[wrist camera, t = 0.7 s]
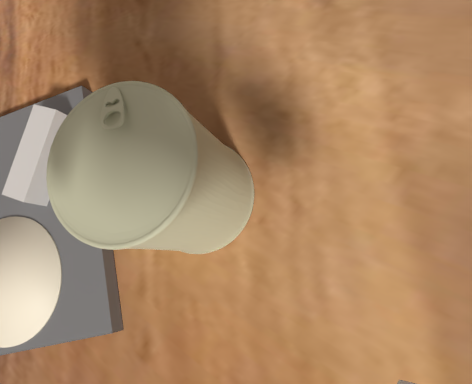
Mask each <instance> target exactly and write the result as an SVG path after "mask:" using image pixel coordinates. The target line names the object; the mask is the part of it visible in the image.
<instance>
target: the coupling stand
mask: <svg viewBox="0 0 472 384" xmlns="http://www.w3.org/2000/svg"><path fill="white" fill-rule="evenodd" d="M91 93H92V92H91V91H89V90H88V89H86V88H85V87H83V86H79V87H77V88H74V89H71V90H69V91H66V92H64V93H61V94H59V95H56V96H53V97H51V98H48V99H46V100H43V101H41V102H38V103H35V104H33V105H30V106H28V107H25V108H23V109H20V110H17V111H15V112H12V113H10V114H7V115H5V116H2V117H0V355H5V354H10V353H15V352H20V351H25V350H30V349H35V348H40V347H45V346H50V345H55V344H60V343H65V342H70V341H75V340H80V339H85V338H90V337H95V336H100V335H105V334H110V333H114V332H118V331H121V330H123V323H122V315H121V307H120V300H119V292H118V284H117V277H116V269H115V261H114V254H113V250H108V249H101V248H96V247H93V246H90V245H88V244H85V243H83V242H82V241H80V240H78V239H77V238H75V237H74V236H73V235H71V234H70V233H69V232H68V231H67V230H66V229H65V228H64V226H63V225H62V224H61V223H60V221H59V220H58V218H57V216H56V214H55V212H54V210H53V208H52V205H51V202H50V199H49V195H48V190H47V180H46V175H47V162H48V157H49V153H50V148H51V145H52V143H53V140H54V138H55V135H56V133H57V131H58V129H59V127H60V126H61V124H62V123H63V121H64V119H65V118H66V117H67V115H68V114H69V113H70V112H71V110H72V109H73V108H74V107H75V106H76V105H77V104H78V103H79V102H81V101H82V100H83V99H84V98H85V97H87V96H88V95H90V94H91Z"/></svg>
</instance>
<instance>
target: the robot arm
mask: <svg viewBox="0 0 472 384" xmlns="http://www.w3.org/2000/svg"><path fill="white" fill-rule="evenodd" d="M397 384H415V383H411V382H407V381H403V380H399V381H398V383H397Z"/></svg>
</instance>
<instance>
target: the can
mask: <svg viewBox="0 0 472 384" xmlns="http://www.w3.org/2000/svg"><path fill="white" fill-rule="evenodd" d="M46 180H47V190H48V195H49V199H50V202H51V205H52V208H53V210H54V212H55V214H56V216H57V218H58V220H59V221H60V223H61V224H62V225H63V226H64V228H65V229H66V230H67V231H68V232H69V233H70V234H71V235H73V236H74V237H75V238H77V239H78V240H80V241H82V242H83V243H85V244H88V245H90V246H93V247H96V248H101V249H108V250H118V249H156V250H174V251H182V252H185V253H190V254H205V253H210V252H213V251H216V250H219V249H221V248H223V247H224V246H226V245H228V244H229V243H230V242H232V241H233V240H234V239H235V238H236V237H237V236H238V235H239V234H240V233H241V231H242V230H243V229H244V227H245V226H246V224H247V222H248V220H249V218H250V215H251V212H252V208H253V204H254V184H253V179H252V176H251V173H250V171H249V168H248V167H247V165H246V163H245V162H244V160H243V159H242V158H241V157H240V156H239V155H238V154H237V153H236V152H235V151H234V150H232V149H231V148H229V147H227V146H225V145H224V144H223V143H222V142H220V141H219V140H218V139H217V138H216V137H215V136H214V135H213V134H212V133H210V132H209V131H208V130H207V129H206V128H205V127H204V126H203V125H202V124H201V123H199V122H198V121H197V120H196V119H195V118H194V117H193V116H192V115H191V114H190V113H189V112H188V111H187V110H186V109H185V108H184V106H183V105H182V104H181V103H180V102H179V101H178V100H177V99H176V98H175V97H174V96H173V95H172V94H170V93H169V92H167V91H166V90H165V89H163V88H161V87H159V86H156V85H153V84H150V83H147V82H141V81H123V82H117V83H113V84H110V85H107V86H105V87H102V88H100V89H98V90H96V91H95V92H93V93H91V94H90V95H88V96H87V97H85V98H84V99H83V100H82V101H81V102H79V103H78V104H77V105H76V106H75V107H74V108H73V109H72V110H71V112H70V113H69V114H68V115H67V117H66V118H65V119H64V121H63V123H62V124H61V126H60V127H59V129H58V131H57V133H56V135H55V138H54V140H53V143H52V145H51V148H50V153H49V157H48V162H47V175H46Z"/></svg>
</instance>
